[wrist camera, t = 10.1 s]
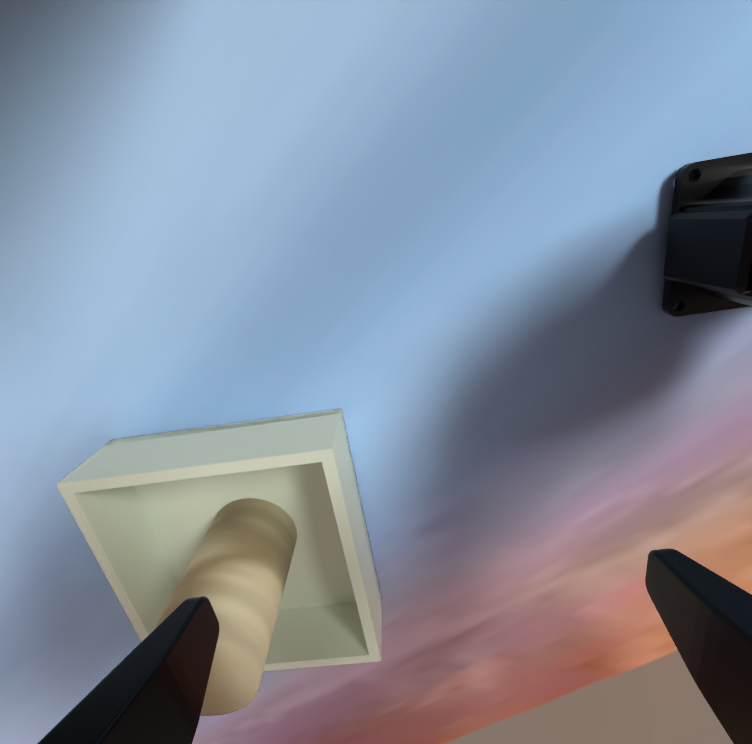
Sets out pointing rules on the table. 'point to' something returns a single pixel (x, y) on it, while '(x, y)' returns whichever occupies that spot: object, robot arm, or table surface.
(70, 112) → the table surface
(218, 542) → the beige rounded cylinder
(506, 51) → the table surface
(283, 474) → the bin
